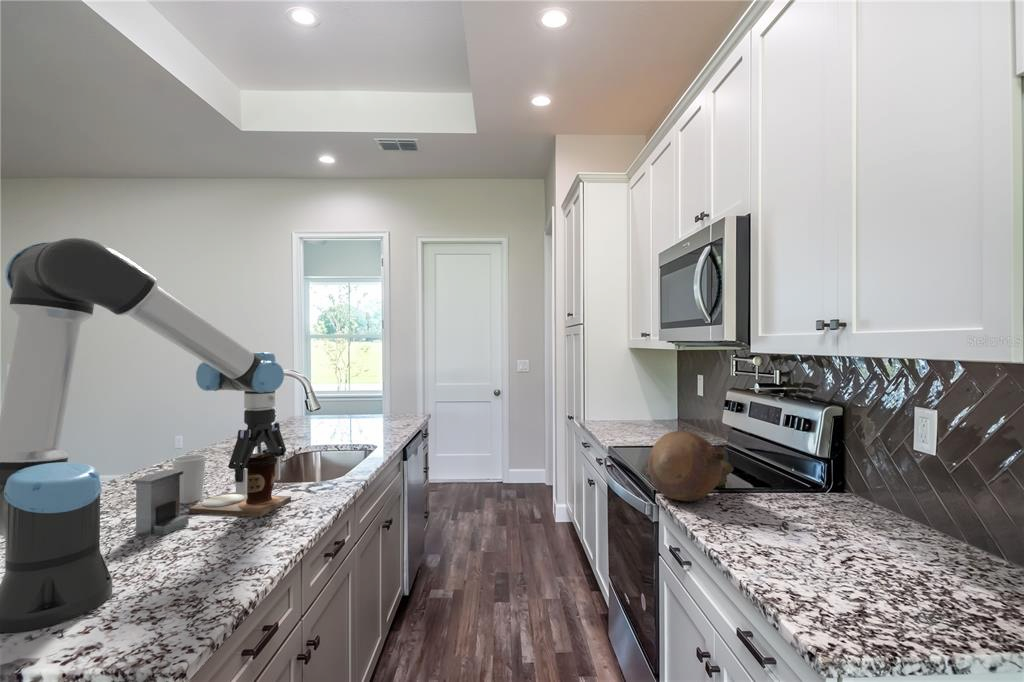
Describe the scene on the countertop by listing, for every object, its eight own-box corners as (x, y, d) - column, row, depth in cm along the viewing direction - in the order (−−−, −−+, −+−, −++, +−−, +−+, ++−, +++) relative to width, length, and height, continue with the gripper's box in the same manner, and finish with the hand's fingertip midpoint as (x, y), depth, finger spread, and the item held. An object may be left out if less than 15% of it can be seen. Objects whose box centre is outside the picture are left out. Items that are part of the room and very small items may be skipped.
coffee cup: (261, 508, 125) (261, 458, 125) (233, 506, 127) (233, 457, 127) (283, 498, 134) (283, 451, 134) (257, 496, 135) (257, 450, 135)
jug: (679, 515, 124) (745, 513, 140) (701, 444, 123) (764, 450, 139) (625, 481, 141) (688, 482, 157) (643, 417, 140) (705, 426, 156)
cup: (211, 498, 138) (211, 456, 138) (180, 506, 132) (180, 462, 132) (197, 493, 143) (197, 453, 143) (167, 501, 136) (167, 458, 136)
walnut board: (260, 516, 123) (260, 511, 123) (188, 512, 126) (188, 507, 126) (291, 500, 136) (291, 495, 136) (224, 497, 139) (224, 491, 139)
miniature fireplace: (160, 536, 111) (160, 481, 111) (132, 534, 112) (132, 480, 112) (191, 522, 120) (191, 471, 120) (165, 520, 121) (165, 470, 121)
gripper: (239, 415, 118) (238, 501, 117) (299, 403, 142) (298, 474, 142) (212, 414, 119) (211, 500, 119) (276, 402, 144) (275, 473, 143)
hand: (259, 486), depth 130 cm, fingers open, 13 cm apart
